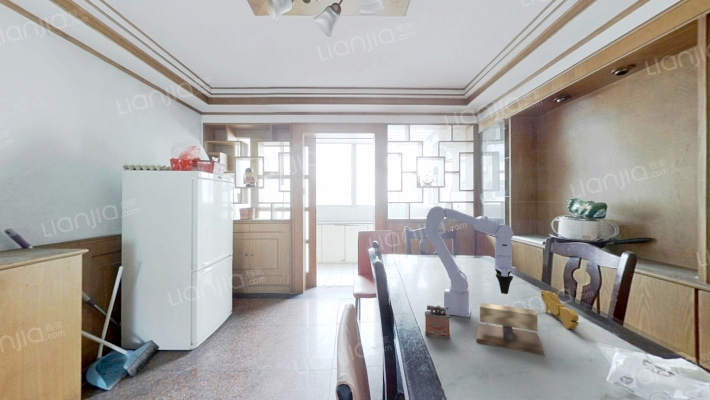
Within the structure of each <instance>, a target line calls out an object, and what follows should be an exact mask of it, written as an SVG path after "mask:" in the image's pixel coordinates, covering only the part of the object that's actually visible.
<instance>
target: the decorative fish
mask: <svg viewBox="0 0 710 400" xmlns="http://www.w3.org/2000/svg"><path fill="white" fill-rule="evenodd" d="M540 297H541V300H542V302H543V303H544V307H545V314H547V313H548V312H550V313H551V314H552V315H553V316H555V317H556V318H557V319H560V320H561V323H562V324H563V326H564V328H565V329H566V330H569V329H570V330H574V329H576V328H577V327H578V326H579V324H580V323H579V322H578V321H579V315H578V313H577V312H576V311H575V310H574V309H570V308H567V307H565V305H564V304H563V303H562V302H561V300H560V298H559V297H558V295H557V293H556V292H551V291H549V290H541V291H540Z"/></svg>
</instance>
